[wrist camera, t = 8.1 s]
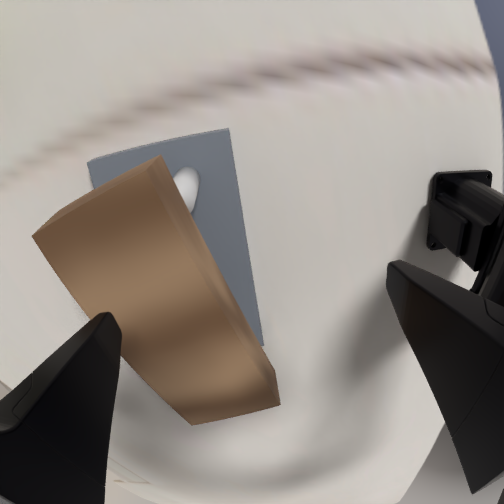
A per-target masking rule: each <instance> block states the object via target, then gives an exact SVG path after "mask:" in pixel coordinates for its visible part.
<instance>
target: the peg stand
mask: <svg viewBox="0 0 504 504" xmlns="http://www.w3.org/2000/svg"><path fill="white" fill-rule="evenodd" d="M160 154H161V155H162V157H163V159H164V161H165V163H166V165H167V168H168V170H169V172H170V174H171V176H172V178H173V180H174V182H175V184H176V186H177V188H178V190H179V192H180V194H181V196H182V198H183V200H184V202H185V204H186V206H187V208H188V210H189V212H190V214H191V216H192V218H193V220H194V222H195V224H196V226H197V228H198V229H199V231H200V233H201V235H202V237H203V239H204V241H205V243H206V245H207V247H208V249H209V251H210V253H211V255H212V257H213V258H214V260H215V262H216V264H217V266H218V268H219V270H220V272H221V274H222V275H223V277H224V279H225V281H226V283H227V285H228V287H229V289H230V290H231V292H232V294H233V296H234V298H235V300H236V302H237V303H238V305H239V307H240V309H241V311H242V313H243V314H244V316H245V318H246V320H247V322H248V324H249V325H250V327H251V329H252V331H253V333H254V334H255V336H256V338H257V340H258V342H259V343H260V345H261V346H264V343H263V336H262V330H261V324H260V318H259V312H258V306H257V299H256V293H255V287H254V281H253V275H252V269H251V263H250V257H249V250H248V244H247V238H246V232H245V226H244V220H243V213H242V207H241V201H240V195H239V189H238V182H237V176H236V170H235V164H234V157H233V151H232V145H231V139H230V132H229V128H227V129H221V130H215V131H209V132H204V133H199V134H193V135H188V136H183V137H178V138H174V139H169V140H164V141H160V142H156V143H151V144H147V145H143V146H139V147H135V148H131V149H127V150H123V151H120V152H116V153H112V154H109V155H105V156H102V157H98V158H95V159H92V160H91V161H89V162H87V165H88V169H89V173H90V176H91V180H92V183H93V187H94V189H96V188H98V187H99V186H101V185H103V184H105V183H106V182H108V181H110V180H112V179H114V178H116V177H117V176H119V175H121V174H123V173H125V172H127V171H129V170H131V169H132V168H134V167H136V166H138V165H140V164H142V163H144V162H146V161H148V160H150V159H152V158H154V157H156V156H158V155H160Z"/></svg>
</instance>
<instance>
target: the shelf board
mask: <svg viewBox="0 0 504 504" xmlns="http://www.w3.org/2000/svg"><path fill="white" fill-rule="evenodd" d="M32 237H33V239H34V241H35V242H36V244H37V245H38V247H39V249H40V250H41V252H42V253H43V255H44V256H45V258H46V259H47V261H48V262H49V264H50V265H51V267H52V268H53V270H54V271H55V273H56V274H57V276H58V277H59V278H60V280H61V281H62V283H63V284H64V285H65V287H66V288H67V290H68V291H69V292H70V294H71V295H72V296H73V298H74V299H75V300H76V302H77V303H78V304H79V306H80V307H81V308H82V309H83V311H84V312H85V313H86V315H87V316H88V317H89V318H90V320H91V319H93V318H94V317H95V316H96V315H97V314H99V313H101V312H111V313H112V314H113V316H114V318H115V320H116V321H117V323H118V325H119V327H120V329H121V332H122V344H121V356H122V357H123V358H124V359H125V361H126V362H127V363H128V364H129V365H130V366H131V367H132V368H133V369H134V370H135V371H136V372H137V373H138V374H139V375H140V377H141V378H142V379H143V380H144V381H145V382H146V383H147V384H148V385H149V386H150V387H151V388H152V389H153V390H154V391H155V392H156V393H157V394H158V395H159V396H160V397H161V398H162V399H163V400H164V401H166V402H167V403H168V404H169V405H170V406H171V407H172V408H173V409H174V410H175V411H176V412H177V413H178V414H179V415H180V416H182V417H183V418H184V419H185V420H186V421H187V422H188V423H189V424H191V425H197V424H203V423H208V422H213V421H218V420H222V419H227V418H231V417H236V416H240V415H244V414H249V413H253V412H257V411H260V410H264V409H268V408H272V407H275V406H279V405H281V404H280V398H279V392H278V386H277V380H276V374H275V370H274V368H273V367H272V365H271V363H270V361H269V359H268V358H267V356H266V354H265V352H264V351H263V349H262V347H261V345H260V343H259V342H258V340H257V338H256V336H255V334H254V333H253V331H252V329H251V327H250V325H249V324H248V322H247V320H246V318H245V316H244V314H243V313H242V311H241V309H240V307H239V305H238V303H237V302H236V300H235V298H234V296H233V294H232V292H231V290H230V289H229V287H228V285H227V283H226V281H225V279H224V277H223V275H222V274H221V272H220V270H219V268H218V266H217V264H216V262H215V260H214V258H213V257H212V255H211V253H210V251H209V249H208V247H207V245H206V243H205V241H204V239H203V237H202V235H201V233H200V231H199V229H198V228H197V226H196V224H195V222H194V220H193V218H192V216H191V214H190V212H189V210H188V208H187V206H186V204H185V202H184V200H183V198H182V196H181V194H180V192H179V190H178V188H177V186H176V184H175V182H174V180H173V178H172V176H171V174H170V172H169V170H168V168H167V165H166V163H165V161H164V159H163V157H162V155H161V154H160V155H158V156H156V157H154V158H152V159H150V160H148V161H146V162H144V163H142V164H140V165H138V166H136V167H134V168H132V169H131V170H129V171H127V172H125V173H123V174H121V175H119V176H117V177H116V178H114V179H112V180H110V181H108V182H106V183H105V184H103V185H101V186H99V187H98V188H96V189H94V190H92V191H91V192H89V193H87V194H85V195H84V196H82V197H80V198H79V199H77V200H75V201H74V202H72V203H70V204H69V205H67V206H65V207H64V208H62V209H61V210H59V211H58V212H57V213H56V214H55V215H53V216H52V217H51V218H50V219H49V220H48V221H47V222H46V223H45V224H44V225H43V226H42V227H41V228H39V229H38V230H37V231H36V232H35V233H34V234H33V235H32Z"/></svg>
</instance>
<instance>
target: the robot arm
mask: <svg viewBox="0 0 504 504" xmlns="http://www.w3.org/2000/svg"><path fill="white" fill-rule="evenodd" d="M440 177H441V179H440V181H439V178H440ZM491 183H492V173H491V172H490V171H488V170H468V171H448V172H437V173H436V174H435V175H434V178H433V190H432V202H431V209H430V218H429V227H428V237H427V247H428V248H429V249H430V250H431V251H433V250H438V249H443V248H447V249H448V250H449V251H451V252H452V253H453V254H454V255H455V256H456V257H460V258H461V259H462V260H463V261H464V262H465V263H466V264H467V265H468V266H469V267H470V268H471V269H472V270H473V271H474V272H476V271H479V273H478V275H477V277H476V280H475V282H474V284H473V286H472V288H471V289H470V290H467V289H465V288H462V287H460V286H458V285H456V284H454V283H452V282H449V281H447V280H445V279H443V278H440V277H438V276H436V275H434V274H432V273H429V272H427V271H425V270H423V269H420V268H418V267H416V266H413V265H411V264H409V263H407V262H404V261H402V260H396V261H392V262H389V263H388V266H387V279H386V288H387V291H388V294H389V296H390V299H391V301H392V304H393V307H394V309H395V312H396V314H397V317H398V320H399V322H400V325H401V327H402V329H403V332H404V334H405V336H406V338H407V340H408V342H409V344H410V346H411V348H412V350H413V352H414V354H415V356H416V358H417V360H418V362H419V364H420V366H421V368H422V370H423V372H424V375H425V377H426V379H427V381H428V383H429V386H430V388H431V390H432V392H433V394H434V397H435V399H436V401H437V404H438V406H439V408H440V411H441V413H442V415H443V418H444V420H445V423H446V425H447V427H448V430H449V432H450V435H451V437H452V441H453V443H454V446H455V448H456V451H457V454H458V456H459V459H460V462H461V465H462V467H463V470H464V473H465V476H466V479H467V482H468V485H469V488H470V491H471V493H472V494H474V493H476V492H478V491H480V490H482V489H483V488H485V487H487V486H488V485H490V484H492V483H493V482H495V481H497V480H498V479H500V478H501V477H503V476H504V195H503V194H501V193H500V192H498V191H496V190H494V189H493V188H491ZM432 243H433V245H432ZM121 344H122V332H121V329H120V327H119V325H118V323H117V321H116V320H115V318H114V316H113V314H112V313H111V312H101V313H99V314H97V315H96V316H95V317H94V318H93V319H91V320H90V321H89V322H88V323H87V324H86V325H84V326H83V327H82V328H81V329H80V330H79V331H78V332H76V333H75V334H74V335H73V336H72V337H71V338H70V339H68V340H67V341H66V342H65V343H64V344H63V345H62V346H61V347H59V348H58V349H57V350H56V351H55V352H54V353H53V354H52V355H51V356H49V357H48V358H47V359H46V360H45V361H44V362H43V363H42V364H41V365H40V366H38V367H37V368H36V369H35V370H34V371H33V373H31V374H30V375H29V376H28V377H27V378H25V379H24V380H23V381H22V382H21V383H20V384H19V385H18V386H17V387H16V388H14V389H13V390H12V391H11V392H10V393H9V394H7V395H6V396H5V397H4V398H3V399H1V400H0V504H104V502H105V487H104V486H105V483H106V470H107V459H108V449H109V440H110V432H111V424H112V417H113V410H114V403H115V396H116V390H117V384H118V378H119V369H120V356H121ZM498 504H504V489H503V491H502V494H501V496H500V499H499V501H498Z"/></svg>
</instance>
